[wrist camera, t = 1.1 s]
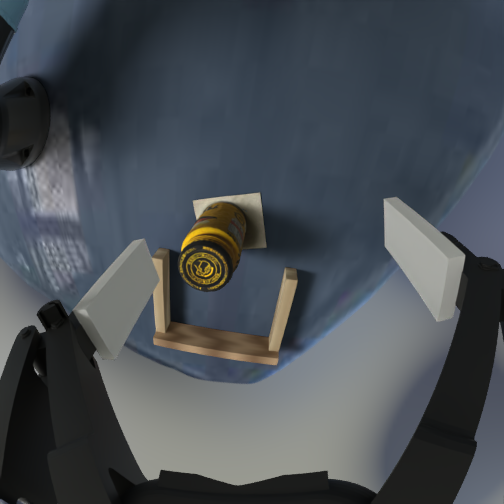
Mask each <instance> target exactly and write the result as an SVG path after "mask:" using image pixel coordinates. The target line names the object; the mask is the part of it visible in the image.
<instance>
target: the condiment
mask: <svg viewBox="0 0 504 504" xmlns="http://www.w3.org/2000/svg"><path fill="white" fill-rule="evenodd" d="M193 205H194V210H195V214H196V219H197V221H196V223H195V224H194V226H193V227H192V229H191V230H190V232H189V233H188V234H187V236H186V238H185V240H184V242H183V245H182V250H181V251H182V252H181V253H180V255H179V258H178V269H179V273H180V275H181V277H182V278H183V280H184V281H185V282H186V283H187V284H188V285H190V286H191V287H192V288H194V289H197V290H200V291H204V292H210V291H217V290H220V289H221V288H223V287H224V286H225V285H226V284H227V283H228V282H229V280H231V278H232V275H233V272H234V271H235V270H236V268H237V266H238V264H239V261H240V256H241V251H242V249H253V248H267V247H266V238H265V229H264V221H263V213H262V204H261V196H260V193H253V194H244V195H235V196H225V197H217V198H208V199H201V200H195V201H193ZM242 208H243V209H244V210H242ZM245 210H247V212H246V211H245Z"/></svg>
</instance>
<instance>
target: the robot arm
mask: <svg viewBox="0 0 504 504" xmlns="http://www.w3.org/2000/svg"><path fill="white" fill-rule="evenodd" d="M28 2H29V0H0V64H1V61H2V59H3V57H4V54H5V52H6V50H7V48H8V46H9V43H10V41H11V39H12V37H13V35H14V33H15V32H16V31H17V29H18V28H17V27H18V24H19V22H20V20H21V18H22V16H23V14H24V12H25V10H26V8H27V6H28ZM49 123H50V107H49V101H48V97H47V94H46V91H45V89H44V87H43V86H42V84H41V83H40V82H39V81H37V80H36V79H34V78H31V77H19V78H14V79H11V80H9V81H7V82H5V83H3V84H1V85H0V170H8V171H14V170H18V169H21V168H24V167H26V166H28V165H30V164H31V163H33V162H34V161H35V160H36V159H37V157H38V156H39V154H40V153H41V151H42V149H43V147H44V145H45V142H46V139H47V135H48V130H49ZM384 223H385V247H386V249H387V250H388V251H389V253H390V254H391V255H392V257H393V258H394V259H395V261H396V262H397V263H398V265H399V266H400V268H401V269H402V270H403V272H404V273H405V275H406V276H407V277H408V279H409V280H410V282H411V283H412V285H413V286H414V288H415V289H416V291H417V292H418V294H419V295H420V297H421V298H422V300H423V301H424V303H425V304H426V306H427V307H428V309H429V310H430V312H431V314H432V315H433V317H434V318H435V320H436V321H437V322H439V321H443V320H447V319H450V318H453V314H454V311H455V306H457V307H458V309H459V310H460V311H461V312H460V316H459V320H458V323H457V327H456V330H455V333H454V337H453V340H452V343H451V346H450V349H449V352H448V355H447V358H446V361H445V364H444V367H443V369H442V372H441V375H440V377H439V380H438V382H437V385H436V387H435V390H434V392H433V394H432V397H431V399H430V402H429V404H428V406H427V408H426V410H425V412H424V414H423V417H422V419H421V421H420V423H419V425H418V427H417V429H416V431H415V433H414V434H413V436H412V438H411V440H410V442H409V444H408V446H407V447H406V449H405V451H404V453H403V455H402V456H401V458H400V460H399V461H398V463H397V465H396V466H395V468H394V469H393V471H392V473H391V474H390V476H389V478H388V479H387V480H386V482H385V483H384V485H383V486H382V488H381V490H380V491H379V492H378V494H376V493H375V492H373V491H371V490H369V489H368V488H366V487H363V486H361V485H358V484H355V483H351V482H348V481H342V480H336V479H328V472H327V471H321V472H313V473H304V474H292V475H282V476H279V477H275V478H271V479H267V480H263V481H259V482H255V483H251V484H245V485H239V486H237V485H231V484H227V483H224V482H221V481H217V480H213V479H211V478H207V477H204V476H201V475H198V474H190V473H181V472H172V471H165V470H161V471H160V475H159V479H154V480H149V481H148V480H147V479H146V478H145V476H144V475H143V473H142V472H141V470H140V468H139V466H138V464H137V462H136V460H135V458H134V456H133V454H132V452H131V450H130V448H129V445H128V443H127V441H126V439H125V437H124V435H123V432H122V430H121V427H120V425H119V423H118V420H117V418H116V415H115V413H114V410H113V407H112V405H111V402H110V399H109V397H108V394H107V391H106V388H105V385H104V383H103V380H102V377H101V373H100V370H99V367H98V364H97V361H96V360H95V358H94V357H93V354H94V352H95V351H96V350H97V352H98V353H99V355H100V356H101V358H102V359H103V360H116V358H117V356H118V354H119V352H120V350H121V348H122V347H123V345H124V343H125V341H126V339H127V337H128V336H129V334H130V332H131V330H132V328H133V326H134V325H135V323H136V321H137V319H138V317H139V316H140V314H141V312H142V310H143V308H144V307H145V305H146V303H147V301H148V300H149V298H150V296H151V294H152V293H153V291H154V289H155V288H156V286H157V284H158V282H159V281H160V279H159V276H158V274H157V271H156V269H155V266H154V263H153V261H152V258H151V255H150V253H149V250H148V247H147V244H146V242H145V239H140V240H135V241H133V242H132V243H131V244H130V245H129V246H128V247H127V248H126V249H125V250H124V251H123V252H122V253H121V255H120V256H119V257H118V258H117V259H116V260H115V261H114V262H113V263H112V265H111V266H110V267H109V268H108V269H107V270H106V271H105V272H104V274H103V275H102V276H101V277H100V278H99V279H98V280H97V282H96V283H95V284H94V285H93V286H92V287H91V289H90V290H89V291H88V292H87V293H86V295H85V296H84V297H83V298H82V299H81V301H80V302H79V303H78V304H77V306H76V307H75V308H74V309H73V311H72V312H71V314H70V315H69V316H68V315H67V313H66V311H65V309H64V308H63V306H62V304H61V302H60V300H53V301H51V302H48V303H47V304H45V305H44V306H43V307H42V308H41V309H40V310H39V311H38V313H37V316H38V318H39V319H40V321H41V323H42V325H43V326H44V328H45V329H46V332H43V333H39V332H38V330H37V329H36V327H35V326H32V325H31V326H28V327H25V328H24V329H22V330H21V331H20V333H19V334H18V335H17V337H16V339H15V342H14V344H13V346H12V349H11V351H10V354H9V357H8V359H7V362H6V365H5V368H4V371H3V373H2V376H1V379H0V504H453V502H454V500H455V498H456V496H457V494H458V492H459V490H460V488H461V485H462V483H463V481H464V479H465V476H466V474H467V472H468V469H469V467H470V465H471V462H472V459H473V457H474V454H475V451H476V447H477V442H476V441H475V440H474V436H475V433H476V430H477V427H478V424H479V421H480V418H481V414H482V411H483V407H484V403H485V400H486V396H487V392H488V387H489V383H490V378H491V373H492V368H493V363H494V357H495V351H496V345H497V337H498V329H499V322H500V323H501V328H502V334H503V340H504V269H502V268H501V266H500V264H499V263H498V262H497V261H495V260H493V259H490V258H488V257H476V256H475V255H474V254H473V253H472V252H471V251H469V250H468V249H467V248H466V247H465V246H463V245H462V244H461V243H460V242H458V240H457V239H456V238H454V237H453V236H452V235H450V234H448V233H446V232H439V231H438V230H437V229H436V228H435V227H433V226H432V225H431V224H430V223H429V222H427V221H426V220H425V219H424V218H422V217H421V216H420V215H419V214H418V213H416V212H415V211H414V210H413V209H411V208H410V207H409V206H407V205H406V204H405V203H404V202H402V201H401V200H400V199H398V198H397V197H394V198H386V199H384ZM34 367H35V369H36V370H37V371H38V373H39V375H37V373H36V372H35V370H34Z"/></svg>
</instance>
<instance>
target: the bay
mask: <svg viewBox="0 0 504 504" xmlns="http://www.w3.org/2000/svg"><path fill="white" fill-rule="evenodd" d="M152 261H153V263H154V266H155V269H156V271H157V274H158V276H159V279H160V281H159V282H158V284H157V286H156V288H155V289H154V291H153V296H154V311H155V323H156V333H155V335H154V337H153V340H154V345H159V346H163V347H168V348H172V349H177V350H182V351H187V352H192V353H198V354H203V355H209V356H215V357H221V358H227V359H233V360H240V361H247V362H255V363H262V364H271V365H277V362H278V351H279V348H280V344H281V341H282V337H283V334H284V330H285V327H286V323H287V319H288V316H289V312H290V308H291V305H292V301H293V297H294V293H295V289H296V286H297V282H298V279H297V271H296V269H294V268H287V267H285V271H284V275H283V280H282V284H281V289H280V293H279V297H278V302H277V306H276V310H275V314H274V319H273V323H272V327H271V331H270V335H269V337H263V336H256V335H248V334H242V333H235V332H229V331H222V330H216V329H210V328H204V327H199V326H193V325H188V324H183V323H177V322H172V321H171V320H170V286H169V249H163V248H159V249H158V250H157V252H156V253H155V254H154V256H153V257H152Z"/></svg>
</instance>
